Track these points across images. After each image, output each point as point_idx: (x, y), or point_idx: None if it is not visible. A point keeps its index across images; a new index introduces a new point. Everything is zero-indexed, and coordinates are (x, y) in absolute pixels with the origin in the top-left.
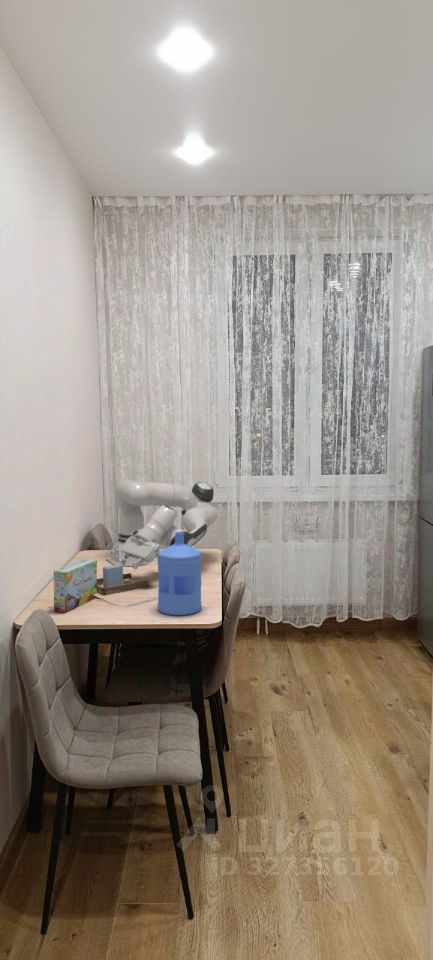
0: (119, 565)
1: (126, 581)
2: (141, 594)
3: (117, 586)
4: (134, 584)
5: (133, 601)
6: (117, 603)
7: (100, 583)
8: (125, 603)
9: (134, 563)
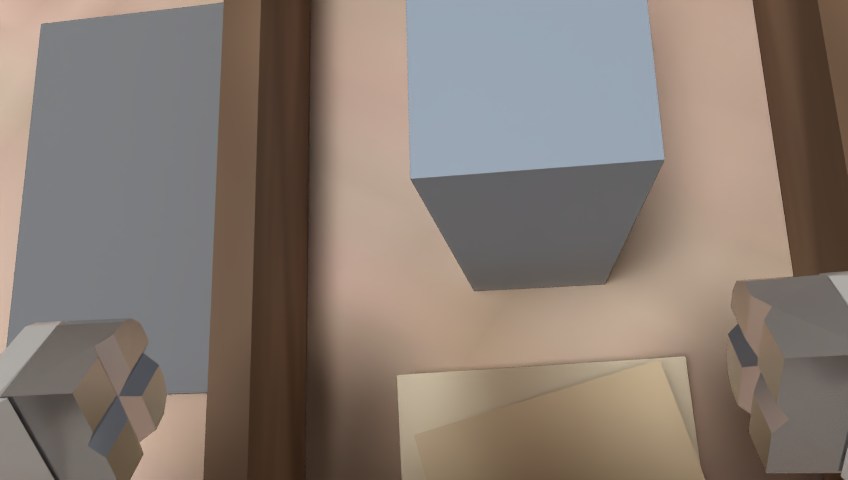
0: (549, 137)
1: (568, 387)
2: (175, 421)
3: (222, 54)
4: (215, 355)
5: (5, 194)
6: (62, 19)
7: (788, 30)
8: (6, 89)
9: (44, 381)
